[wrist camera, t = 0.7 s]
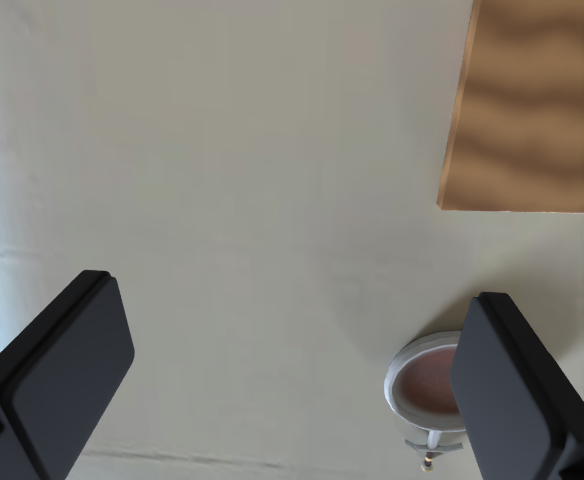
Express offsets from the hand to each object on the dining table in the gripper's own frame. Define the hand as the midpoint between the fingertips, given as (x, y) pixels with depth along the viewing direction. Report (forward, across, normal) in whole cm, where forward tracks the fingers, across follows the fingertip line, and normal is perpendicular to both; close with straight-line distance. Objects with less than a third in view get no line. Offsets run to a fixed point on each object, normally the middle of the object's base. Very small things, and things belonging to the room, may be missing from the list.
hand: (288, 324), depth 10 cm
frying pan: (+29, -19, +38) cm, 52 cm away
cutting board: (+30, -20, -3) cm, 36 cm away
